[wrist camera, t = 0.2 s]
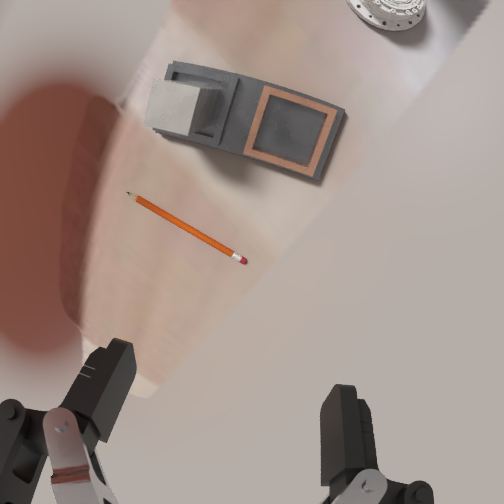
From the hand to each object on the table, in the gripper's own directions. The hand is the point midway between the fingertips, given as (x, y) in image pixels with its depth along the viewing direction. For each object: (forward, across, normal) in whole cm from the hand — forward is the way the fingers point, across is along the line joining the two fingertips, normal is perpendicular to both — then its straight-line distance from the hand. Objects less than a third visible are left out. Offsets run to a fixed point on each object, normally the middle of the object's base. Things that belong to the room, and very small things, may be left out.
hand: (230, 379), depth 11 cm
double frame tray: (+28, +4, -7) cm, 29 cm away
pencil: (+29, +10, +9) cm, 32 cm away
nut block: (+27, +10, -7) cm, 30 cm away
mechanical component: (+29, -9, -26) cm, 40 cm away
